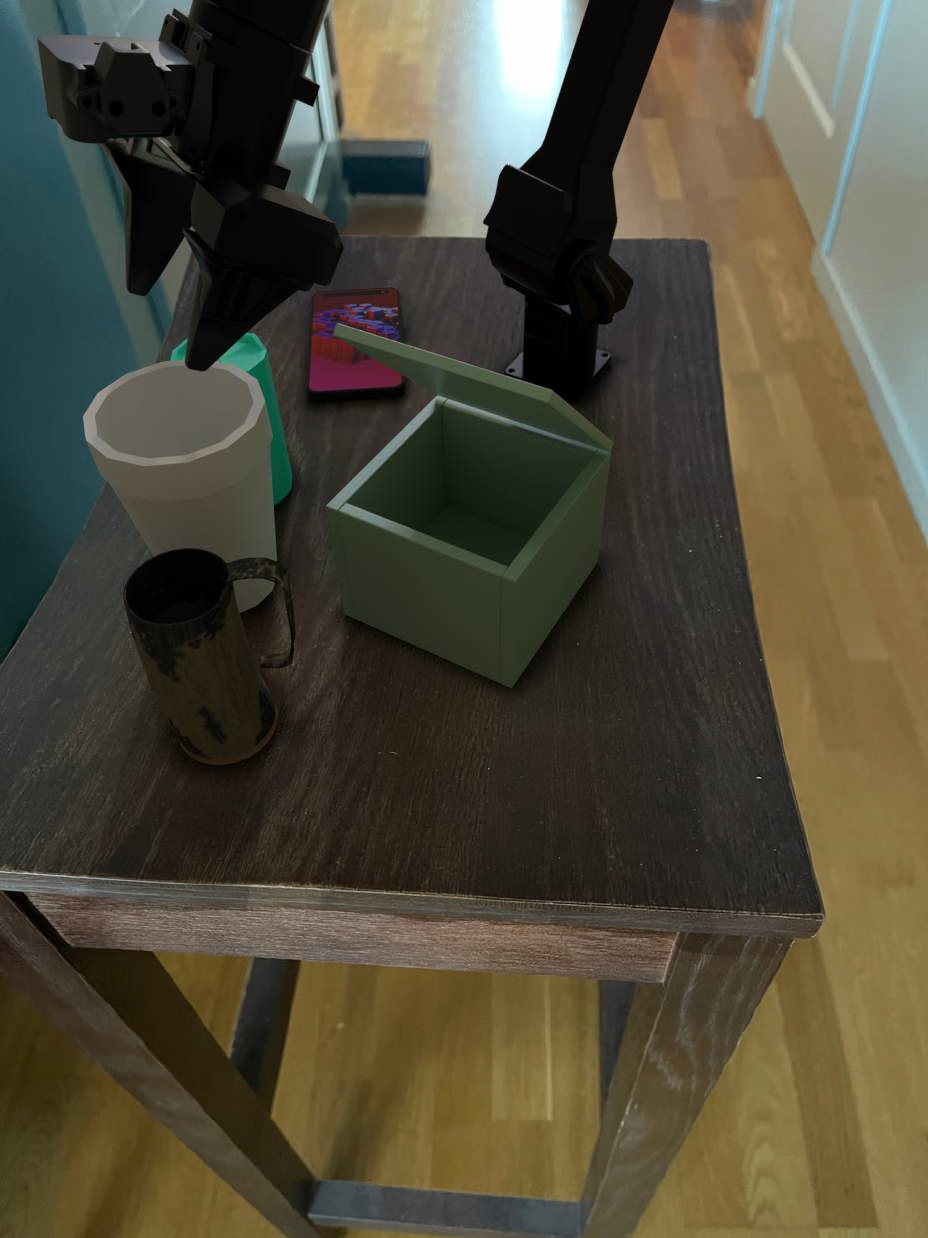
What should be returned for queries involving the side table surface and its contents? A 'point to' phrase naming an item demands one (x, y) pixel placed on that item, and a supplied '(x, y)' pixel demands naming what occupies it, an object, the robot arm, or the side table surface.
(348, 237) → the side table surface
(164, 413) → the foam cup
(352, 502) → the green bin
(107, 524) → the side table surface
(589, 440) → the bin lid
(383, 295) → the smartphone
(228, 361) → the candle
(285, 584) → the mug
